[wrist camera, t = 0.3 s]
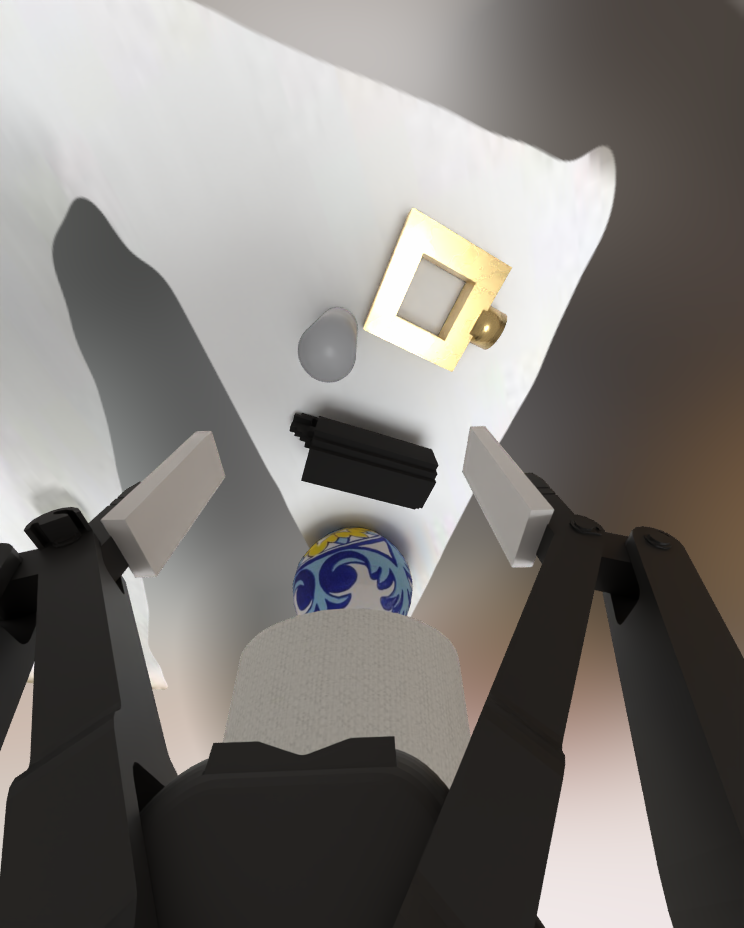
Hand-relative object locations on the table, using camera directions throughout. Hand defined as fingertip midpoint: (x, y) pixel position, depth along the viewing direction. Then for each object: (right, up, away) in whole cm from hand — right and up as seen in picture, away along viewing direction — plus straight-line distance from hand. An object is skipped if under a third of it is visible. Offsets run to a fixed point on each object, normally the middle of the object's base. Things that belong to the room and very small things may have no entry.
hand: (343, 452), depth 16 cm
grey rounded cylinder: (-2, +15, +20) cm, 25 cm away
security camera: (0, +3, +27) cm, 27 cm away
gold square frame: (+9, +17, +18) cm, 27 cm away
